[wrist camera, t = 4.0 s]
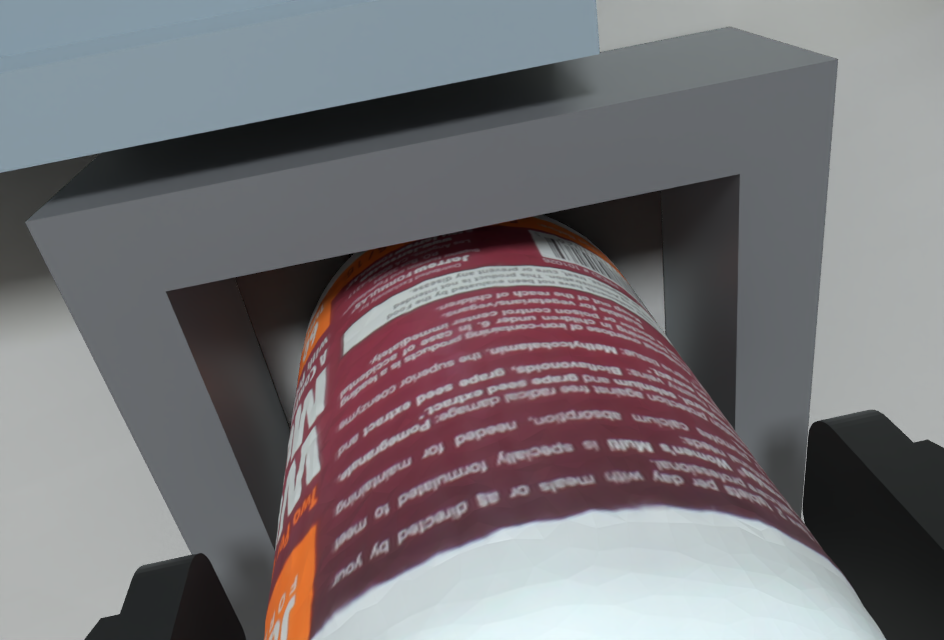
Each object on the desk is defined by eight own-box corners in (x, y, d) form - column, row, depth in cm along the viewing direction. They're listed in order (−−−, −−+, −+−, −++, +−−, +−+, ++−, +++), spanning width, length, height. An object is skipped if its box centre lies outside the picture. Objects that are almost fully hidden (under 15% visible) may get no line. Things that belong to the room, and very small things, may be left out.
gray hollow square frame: (730, 26, 11) (838, 58, 9) (725, 491, 16) (794, 601, 14) (104, 150, 11) (25, 222, 9) (288, 588, 16) (274, 718, 13)
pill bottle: (248, 257, 12) (-210, 1634, 2) (602, 147, 12) (1618, 1128, 2) (370, 514, 15) (384, 1587, 5) (654, 429, 15) (1188, 1368, 5)
